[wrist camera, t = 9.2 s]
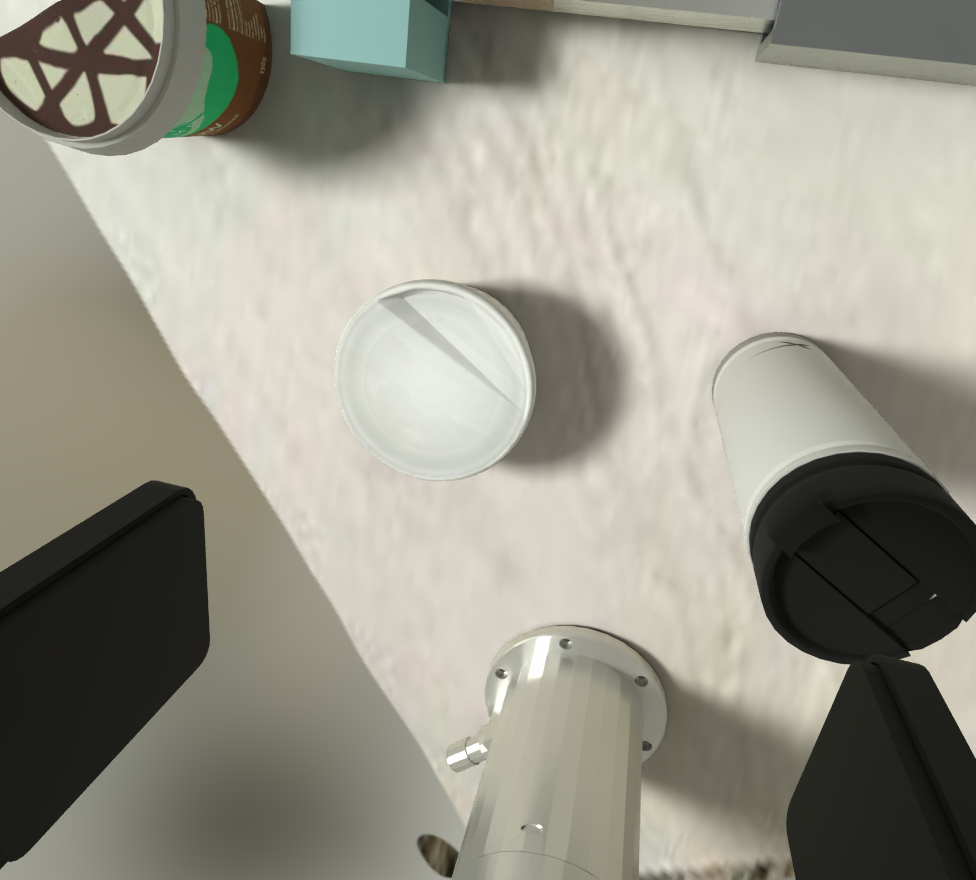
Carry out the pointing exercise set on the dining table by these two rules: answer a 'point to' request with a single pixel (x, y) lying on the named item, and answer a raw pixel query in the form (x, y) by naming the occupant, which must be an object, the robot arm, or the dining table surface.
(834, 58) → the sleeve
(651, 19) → the multicoloured piece
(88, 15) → the food container
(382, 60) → the socket block
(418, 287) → the ramekin
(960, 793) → the robot arm
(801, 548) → the travel mug
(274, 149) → the dining table surface
